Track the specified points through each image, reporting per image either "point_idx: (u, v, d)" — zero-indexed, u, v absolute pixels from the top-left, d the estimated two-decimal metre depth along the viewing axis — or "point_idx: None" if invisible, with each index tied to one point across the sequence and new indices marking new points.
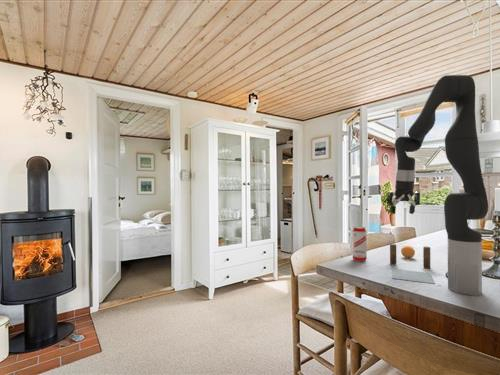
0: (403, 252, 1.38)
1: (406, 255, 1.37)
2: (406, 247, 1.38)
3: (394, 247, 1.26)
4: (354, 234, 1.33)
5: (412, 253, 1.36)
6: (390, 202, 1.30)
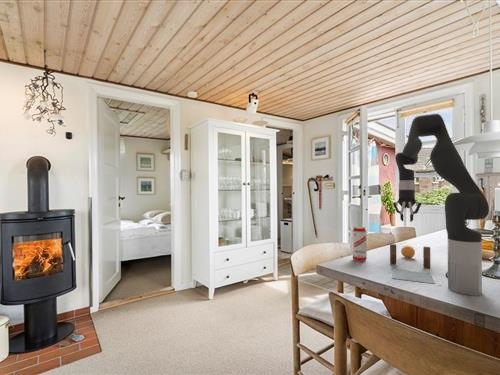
0: (403, 252, 1.38)
1: (406, 255, 1.37)
2: (406, 247, 1.38)
3: (394, 247, 1.26)
4: (354, 234, 1.33)
5: (412, 253, 1.36)
6: (397, 210, 1.50)
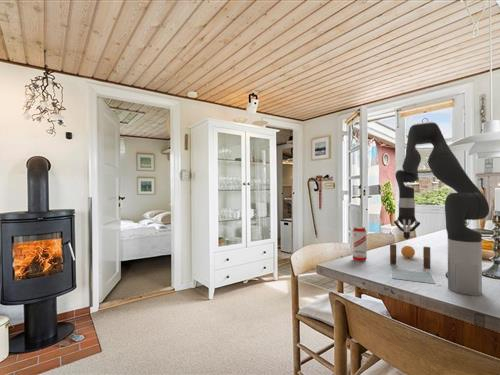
0: (403, 252, 1.38)
1: (406, 255, 1.37)
2: (406, 247, 1.38)
3: (394, 247, 1.26)
4: (354, 234, 1.33)
5: (412, 253, 1.36)
6: (401, 228, 1.49)
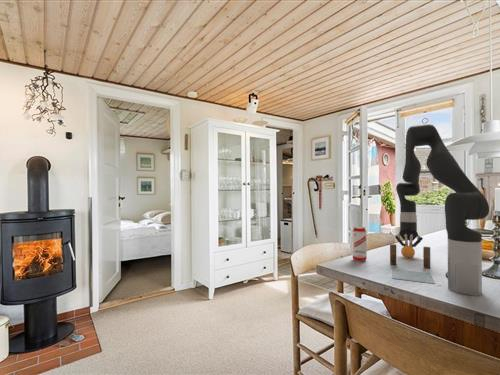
0: (403, 252, 1.38)
1: (406, 255, 1.37)
2: (406, 247, 1.38)
3: (394, 247, 1.26)
4: (354, 234, 1.33)
5: (412, 253, 1.36)
6: (402, 243, 1.44)
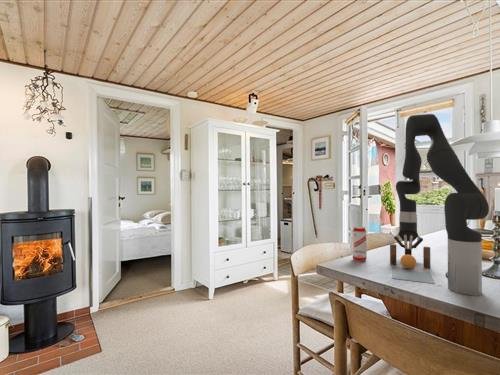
0: (403, 263, 1.20)
1: (406, 267, 1.20)
2: (406, 258, 1.19)
3: (394, 247, 1.26)
4: (354, 234, 1.33)
5: (413, 265, 1.18)
6: (401, 244, 1.36)
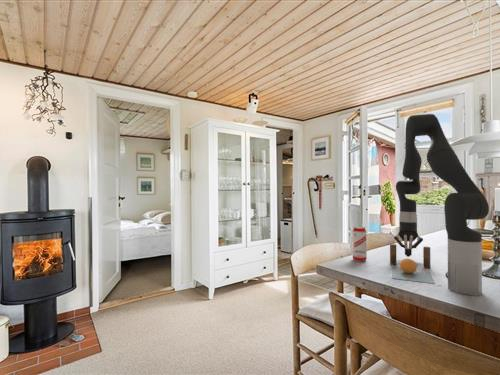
0: None
1: None
2: None
3: (394, 247, 1.26)
4: (354, 234, 1.33)
5: None
6: (401, 244, 1.36)
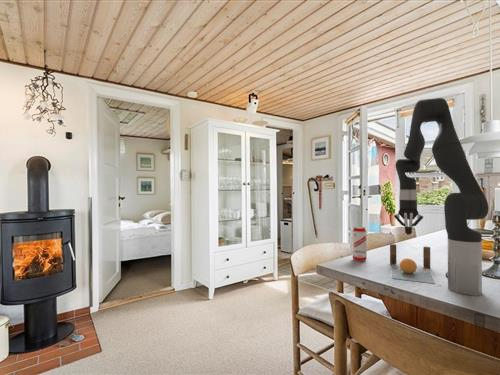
0: None
1: None
2: None
3: (394, 247, 1.26)
4: (354, 234, 1.33)
5: None
6: (402, 223, 1.36)
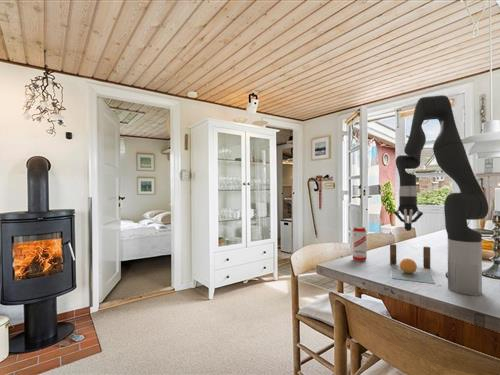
0: None
1: None
2: None
3: (394, 247, 1.26)
4: (354, 234, 1.33)
5: None
6: (401, 219, 1.36)
